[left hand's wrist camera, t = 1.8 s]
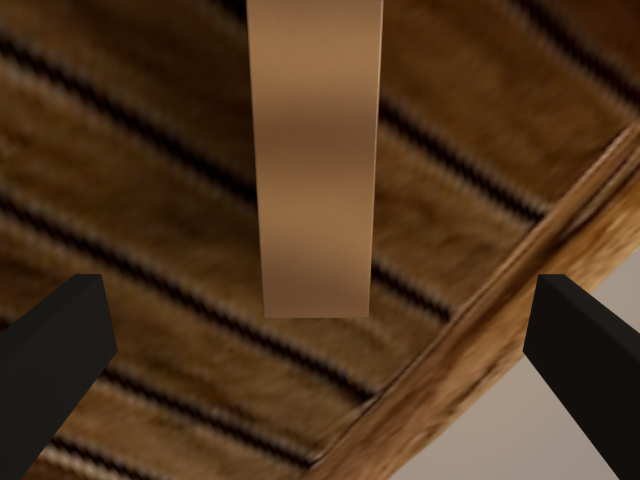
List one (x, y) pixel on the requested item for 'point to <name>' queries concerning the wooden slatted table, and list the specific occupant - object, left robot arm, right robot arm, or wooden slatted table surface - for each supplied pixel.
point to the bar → (315, 151)
